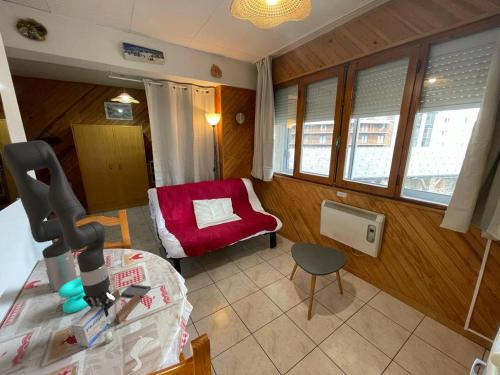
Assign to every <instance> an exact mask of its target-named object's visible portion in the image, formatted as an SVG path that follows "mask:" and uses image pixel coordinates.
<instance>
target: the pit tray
mask: <svg viewBox="0 0 500 375" xmlns="http://www.w3.org/2000/svg"><path fill="white" fill-rule="evenodd" d="M151 289H152V287H151V286H149V285H143V284H136V283H135V284H134V283H131V284H130V285H129V286H128V287H127V288H126V289H124V290H123V291H122V292H121V296H123V297H129V298H132V297H133V296H134V295H135V294H136V293H140V299H143V298H144V297H145V296H146V295H147V293H148V292H150V290H151Z"/></svg>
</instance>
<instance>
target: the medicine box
mask: <svg viewBox="0 0 500 375" xmlns="http://www.w3.org/2000/svg"><path fill="white" fill-rule="evenodd" d="M107 320H108V319H107V317H106V316H105V312H104V309H103V307H101V308H100V307H92V308H91V307H90V309H88V310H87V311H86V312H85V313H84V314H83V315H82V316H81V317H80V318H79V319H78V320H77V321H75V322H74V323H73V324H72V329H73V331H74V334H75V335H74V337H75V340H76V342H77V346H82V347H90V346H91V345H92V344H93V343H94V342H95V341H96V340H97V339H98V338H99V336H100V335H101V334H102V333H103V332H104V331H105V330H106V329H107V327H108V326H109V323H108V321H107Z"/></svg>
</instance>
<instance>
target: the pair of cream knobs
mask: <svg viewBox="0 0 500 375" xmlns="http://www.w3.org/2000/svg"><path fill="white" fill-rule="evenodd" d="M72 325H73V324H72ZM72 325H69V326H68V328H67V331H68V335H69V337H71V338H72V337H75V334H74V331H73V329H72ZM103 336H104V342H105V344H106V345H109V344H111V343H112V342H113V341H114V338H113V334H112V331H110V330H109V331H107V332H105V333H104V334H103Z"/></svg>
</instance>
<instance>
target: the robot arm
mask: <svg viewBox="0 0 500 375" xmlns="http://www.w3.org/2000/svg"><path fill="white" fill-rule="evenodd" d="M1 152H2V156H3V158H4V161H5V163H6V165H7V168H8V170H9V171H10V174H11V175H12V178H13V180H14V182H15V185H16V188H17V191H18V195H19V198H20V202H21V204H22V207H23V209H24V211H25V214H26V216H27V219H28V222H29V224H28V225H29V229H30V231H31V235H32V239H33V240H34V241H35V242H36V243H40V244H41V243H46V242H52V241H54V240H56V241H54V242H53V243H52V244H50V245H48V246H46V247H45V248H43V250H42V253H41V254H42V257H43V260H44V263H45V267H46V275H47V279H48V282H49V285H50V286H49V287H50V288H51V290H52V291H53V292H59V290H60V288H61V287H62V286H63V285H65V284H66V283H68V282H70V281H72V280H74V279H78V274H77V270H76V266H75V263H74V258H73V252H72V250H74V251H75V250H76V251H77V250H81V249H83V248H84V249H83V250H82V251H81V252H79V253H78V255H77V258H76V261H77V265H78V269H79V274H80V277H79V278H81V282H82V286H83V290H84V294H85V296H84V297H83V300H84V301H85V302H86V303H87V304H88V306H89V308H90V309H91V308H92V307H100V308H101V307H103V309H104V312H105V316H106V318H108V316H109V309H111V307H113V306H114V305H115V304H114V302H115V301H116V299H117V296H114V297H113V296H111V294H112V293H111V292H112V291H110V286H111V280H110V275H109V270H108V267H107V264H106V262H105V257H104V248H105V239H106V230H105V227H104V225H103V224H102V223H101V222H100V221H96V220H95V221H94V220H93V221H89V222H87V223H83V224H81V225H79V226H77V224H76V222H77V221H79V220H82V219H83V218H84V217H85V216H86V213H87V211H86V209H85V208H84V207H83V205H82V204H81V202H80V201H79V199H78V198H77V196H76V195H75V193H74V192H73V189H72V187H71V185H70V183H69V181H68V179H67V176H66V174H65V172H64V170H63V168H62V166H61V164H60V160H59V159H58V158H57V156H56V153H55V151H54V150H53V148H52V147H51V146H50V144H49V143H48V142H46V141H44V140H41V139H40V140H30V141H29V140H28V141H21V142H19V141H18V142H11V143H6V144H4V145H2V148H1ZM46 168H47V169H48V170H49V171H48V172H49V173H50V183H49V185H48V184H47V183H44V182H42V181H41V180H38V179H36V178H34V177H33V176H31V175H30V174H29V173H28V172H31V171H35V170H36V171H37V170H41V169H46ZM52 212H53V213H54V215H55V216H56V218H53V219H47V217H48V216H50V214H52ZM46 219H47V220H46ZM85 247H86V248H85ZM113 304H114V305H113ZM112 305H113V306H112Z"/></svg>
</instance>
